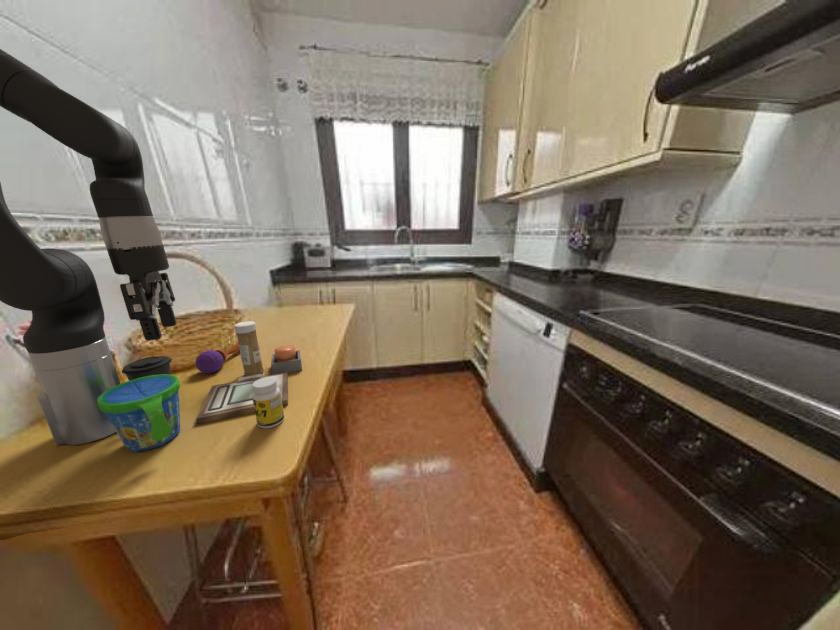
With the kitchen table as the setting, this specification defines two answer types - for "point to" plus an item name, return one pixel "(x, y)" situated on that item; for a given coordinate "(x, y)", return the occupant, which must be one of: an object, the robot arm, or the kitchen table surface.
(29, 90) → the robot arm
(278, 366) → the button collar
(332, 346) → the kitchen table surface
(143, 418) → the snack cup
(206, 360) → the kendama
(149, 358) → the coffee cup
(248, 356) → the spice bottle
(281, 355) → the button
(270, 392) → the supplement bottle
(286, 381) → the colouring board
